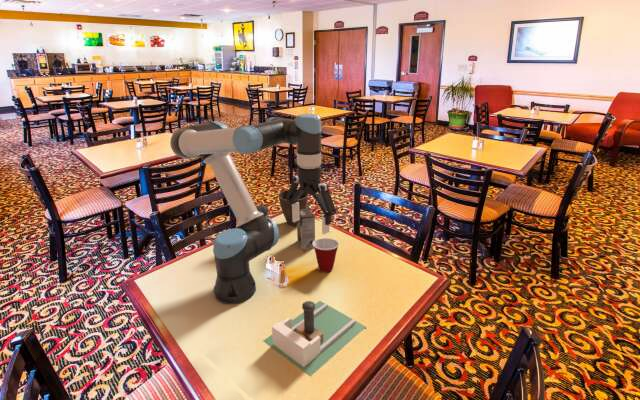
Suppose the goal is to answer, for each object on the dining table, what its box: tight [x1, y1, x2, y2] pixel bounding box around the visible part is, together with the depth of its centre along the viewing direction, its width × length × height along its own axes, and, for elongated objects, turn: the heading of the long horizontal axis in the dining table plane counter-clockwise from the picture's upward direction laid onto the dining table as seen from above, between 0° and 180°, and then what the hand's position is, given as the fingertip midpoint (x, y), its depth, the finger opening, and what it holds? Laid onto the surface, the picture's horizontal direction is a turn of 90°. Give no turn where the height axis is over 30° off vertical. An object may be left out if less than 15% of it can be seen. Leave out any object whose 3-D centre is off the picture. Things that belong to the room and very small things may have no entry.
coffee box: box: [296, 207, 316, 251], centre depth 168 cm, size 9×6×16 cm
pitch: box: [262, 300, 367, 377], centre depth 116 cm, size 20×26×2 cm
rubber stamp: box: [295, 300, 323, 343], centre depth 112 cm, size 8×4×12 cm, turn 48°
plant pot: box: [277, 188, 309, 227], centre depth 188 cm, size 15×15×16 cm
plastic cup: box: [312, 237, 340, 273], centre depth 150 cm, size 11×11×12 cm
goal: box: [271, 316, 321, 367], centre depth 109 cm, size 13×7×7 cm, turn 48°
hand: (310, 226), depth 123 cm, fingers open, 13 cm apart
